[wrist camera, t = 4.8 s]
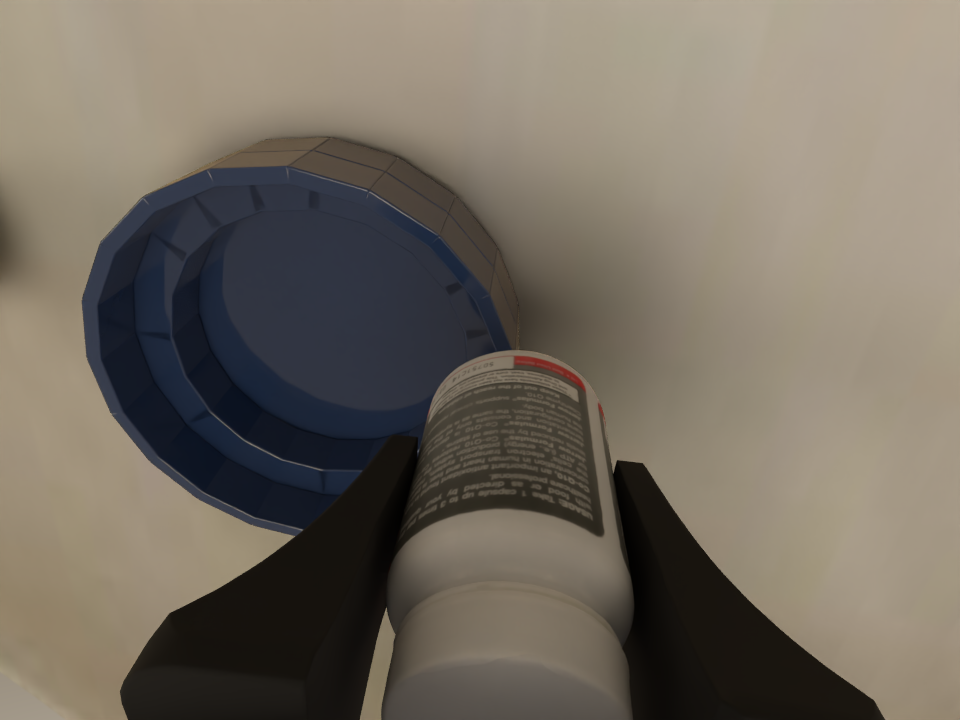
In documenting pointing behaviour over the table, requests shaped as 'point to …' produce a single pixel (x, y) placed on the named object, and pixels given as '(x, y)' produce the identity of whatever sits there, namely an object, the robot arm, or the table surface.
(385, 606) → the robot arm
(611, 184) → the table surface
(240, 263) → the blue round pet bowl
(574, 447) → the pill bottle
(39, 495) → the table surface
